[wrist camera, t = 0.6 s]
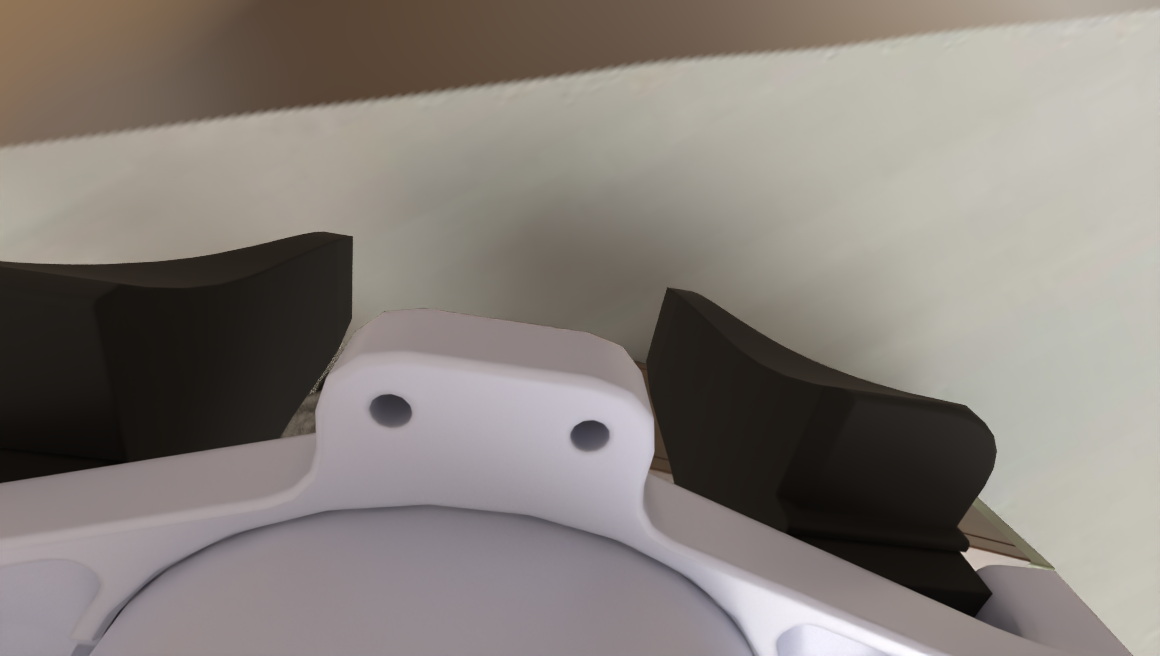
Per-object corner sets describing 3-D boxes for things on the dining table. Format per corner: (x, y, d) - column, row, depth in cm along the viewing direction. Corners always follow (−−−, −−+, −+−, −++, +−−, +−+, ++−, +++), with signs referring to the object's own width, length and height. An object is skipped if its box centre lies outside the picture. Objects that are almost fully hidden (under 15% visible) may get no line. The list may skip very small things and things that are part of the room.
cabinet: (896, 431, 27) (1033, 561, 19) (780, 634, 32) (854, 806, 24) (609, 353, 25) (634, 463, 17) (528, 582, 30) (518, 752, 22)
